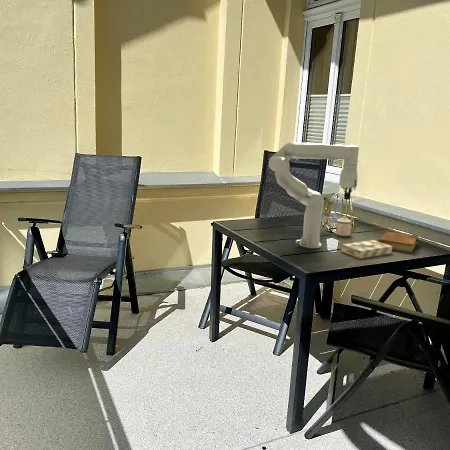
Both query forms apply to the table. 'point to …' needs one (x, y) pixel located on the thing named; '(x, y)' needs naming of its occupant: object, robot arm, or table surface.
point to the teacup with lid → (343, 227)
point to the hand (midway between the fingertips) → (347, 199)
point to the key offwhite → (367, 244)
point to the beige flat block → (366, 249)
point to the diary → (399, 241)
